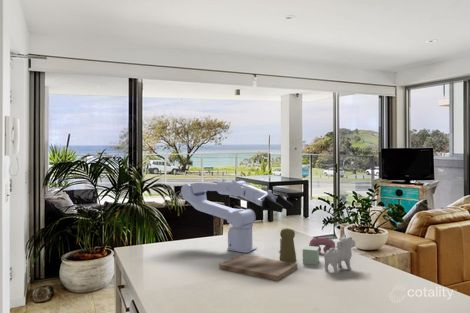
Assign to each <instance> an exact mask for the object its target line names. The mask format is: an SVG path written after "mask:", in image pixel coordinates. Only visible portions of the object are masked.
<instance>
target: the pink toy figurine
mask: <svg viewBox="0 0 470 313" xmlns="http://www.w3.org/2000/svg"><path fill="white" fill-rule="evenodd" d="M308 246H315V247H319V253H320V252H321V251H322V247H321V246H324V247H323V253H324V254H325V253H326V251H328V250H329V249H331V248H336V242H335V241H334V240H333V239H331V238H329V237H326V236H325V237H324V236H323V237H322V236H318V237H313V238H311V240H310V242H309V244H308Z"/></svg>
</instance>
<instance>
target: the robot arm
mask: <svg viewBox="0 0 470 313" xmlns="http://www.w3.org/2000/svg"><path fill="white" fill-rule="evenodd" d="M208 191H209V192H217V193H218V194H220V195H225V196H232V197H235V198H237V197H241V198H242V199H244V200H247V201H249V202H251V203H253V204H255V205H257V206H260V207H261V211H269V212H277V213H283V209H284V210H287V211H293V208H294V204H293V203H291V202H290V201H289V200H287V199H286V198H285V197H284V195H283V194H281V193H278V194H277V196H276V195H275V194H273V193H272V192H273V191H272V190H271V189H268V190H267V191H265V190H263V189H260V188H258V187H256V186H254V185H250V184H249V183H248V182H247V181H245V180H242V179H241V180H238V181H236V179H232V180H227V179H226V178H222V179H221V180H219V181H217V182H209V181H201V182H200V181H199V182H193V183H188V184H187V183H185V184H182V186H181V187H180V193H181V196H182V198H183V200H184V201H186V202H188V203H189V204H190V205H191V206H192V207H193V208H194V209H195V210H197V211H199V212H202V213H205V214H208V215H210V216H211V215H212V216H214V217H218V218H220V219H223V220H226V221H227V224H230V225H231V226H230V227H229V228H228V231H227V247H226V250H227V251H233V252H238V253H239V252H240V253H244V254H247V253H249V252H252V251H254V250H256V249H257V247H256V246H253V226H254V223H255V222H256V218H257V217H256V213H255V211H254V210H253V209H251V208H246V209H243V208H232V207H231V206H226V205H224V204H220V203H216V202H213V201H210V200H208V198H207V192H208Z"/></svg>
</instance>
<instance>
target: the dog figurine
mask: <svg viewBox="0 0 470 313" xmlns="http://www.w3.org/2000/svg"><path fill="white" fill-rule="evenodd" d="M355 246H356V242H355V240H354V239H353V237H352V236H348V237H347V234H343V235H342V237H341V238H340V240H338V241H337V242H336V245H335V248H331V249H329V250H328V251H326V253H325V252H324V254H323V259H324V270H325V271H326V272H327V271H329V266H332V267H333V274H339V271H338V268H339V267H340V268H341V267H343V265H342V262H343V261H344V264H345V266H346V269H347V270H348V271H350V269H351V270H352V267H351V259H352V256H353V253H352V248H355Z"/></svg>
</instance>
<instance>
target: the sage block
mask: <svg viewBox="0 0 470 313" xmlns="http://www.w3.org/2000/svg"><path fill="white" fill-rule="evenodd" d="M319 262H320V252H319V247H315V246H309V245H304V246H303V248H302V264H304V265H305V264H306V265H314V266H315V265H318V264H319Z"/></svg>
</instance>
